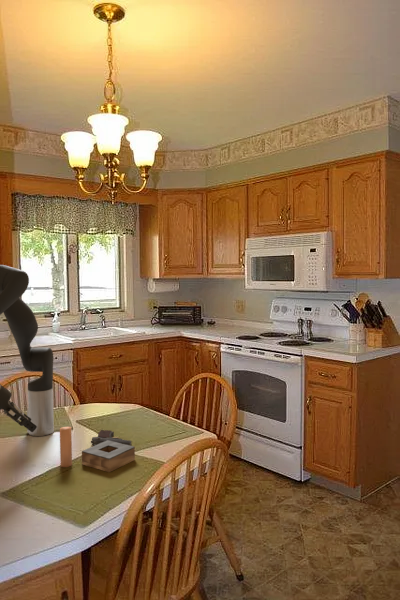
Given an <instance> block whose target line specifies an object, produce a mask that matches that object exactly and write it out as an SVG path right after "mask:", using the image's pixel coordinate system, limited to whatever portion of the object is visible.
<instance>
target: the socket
mask: <svg viewBox="0 0 400 600" xmlns="http://www.w3.org/2000/svg"><path fill="white" fill-rule="evenodd" d="M135 451H136V447H135V446H133V445H131V446H130V445H125V444H121V443H117V442H113V441H109V440H107V441H105V442H102V443H100V444H98V445H92V446H91V447H89V448H86V449H83V450H81V465H83V466H86V467H90V468H93V469H97V470H101V471H104V472H107V473H111V472H113V471H115V470H117V469H119V468H121V467H124V466H125V465H128V464H130V463H131V462H133V461H135V460H136V454H135V453H136V452H135Z"/></svg>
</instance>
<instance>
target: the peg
mask: <svg viewBox="0 0 400 600" xmlns="http://www.w3.org/2000/svg"><path fill="white" fill-rule="evenodd" d="M72 443H73V441H72V427H71V426H62V427H60V428H59V456H60V462H59V463H60V467H61V468H69V467H71V466H73V446H72Z"/></svg>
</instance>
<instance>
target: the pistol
mask: <svg viewBox="0 0 400 600" xmlns="http://www.w3.org/2000/svg"><path fill="white" fill-rule="evenodd" d="M107 440H109V441H113V442H117V443H121V444H125V445H130V446H133V445H132V440H127V439H123V438H119V437H118V436H115V432H114V431H112V430H109V429H108V430H107V429H106V430H105V429H104V430H103V429H101V430H99V432H98V434H97V436H93V437H91V441H90V444H92V446H95V445H98V444H100V443H102V442H105V441H107Z"/></svg>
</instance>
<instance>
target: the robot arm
mask: <svg viewBox="0 0 400 600" xmlns="http://www.w3.org/2000/svg"><path fill="white" fill-rule="evenodd" d="M29 283H30V278H29V275H28V273H27V272H26V271H24V270H22V269H19V268H16V267H11V266H8V265H6V264H5V265H4V264H0V316H1V315H2V314H4V317H5V320H6V322H7V325H8V327H9V330H10V332H11V334H12V336H13V338H14V342H15V343H16V346H17V349H18V352H19V356H20V360H21V363H22V366H23V368H24V370H25V371H26V372H32V373H33V372H39V373H40V372H42V375H41V376H40V377H38V378H36V379H35V378H34V379H32V380H30V381H29V382H27V403H28V405H27V408H26V413H25V412H24V411H22V409H21V407H20V406H19V405H17V404H16V403H15V401H14V402H13V400H12V401H10V400H11V398H12V395H13V394H12V392H11V391H10V390H8V389H7V388H6V387H4V386H3V385H2V384H1V383H0V411H1V410H2V412H3V413H4V415H5V416H6V417H8V418H10V419H11V420H12V421H13V422H15V423H17V424H18V425H19V426H21V427H24V428H26V429H27V430H26V432H27V433H28V435H30V436H32V437H43V436H48V435H51V434H53V433H54V432H55V428H54V426H55V425H54V423H55V422H54V421H55V420H54V386H53V385H54V353H53V349H51V347H33V346H31V343H32V342H33V340H34V339H35V337H36V336H37V334H38V332H39V325H38V324H39V323H38V321H37V319H36V315H35V313H34V311H33V310H32V308H31V307H30V306H29V305H27V303H26V302H25V301H24V300H23V299H21V297H22V296H23V295H24V293H25V292H26V291H27V289H28V287H29Z"/></svg>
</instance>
